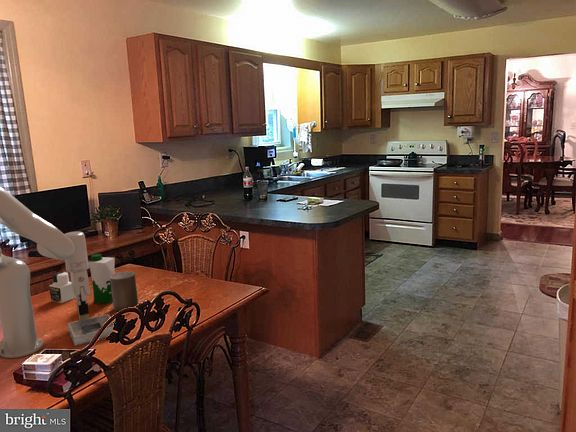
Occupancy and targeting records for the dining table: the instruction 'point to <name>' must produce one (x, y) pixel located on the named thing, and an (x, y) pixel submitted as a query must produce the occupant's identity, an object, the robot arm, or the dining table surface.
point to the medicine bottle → (61, 288)
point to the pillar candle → (123, 290)
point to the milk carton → (101, 277)
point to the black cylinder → (82, 315)
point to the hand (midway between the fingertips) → (83, 312)
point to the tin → (88, 329)
